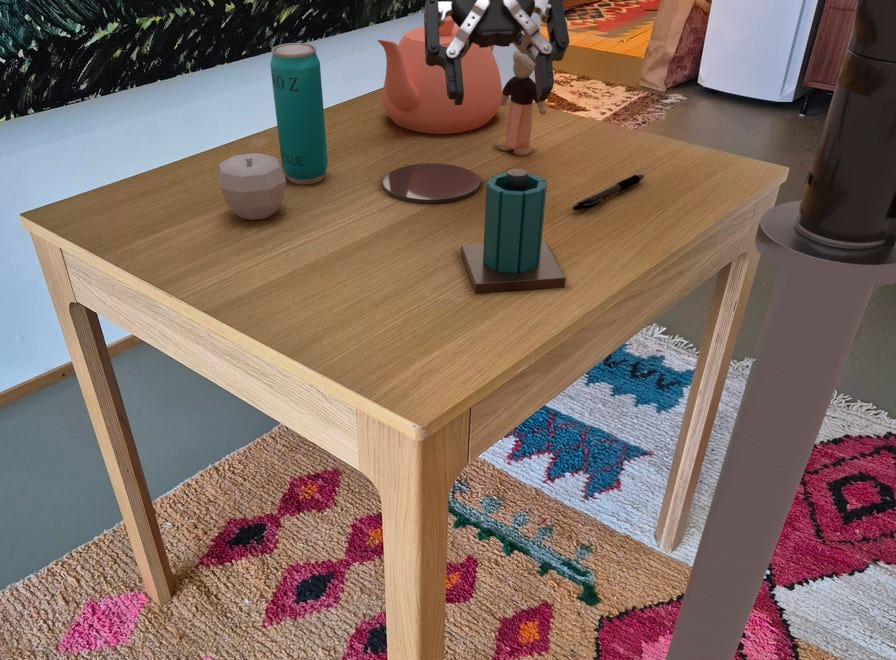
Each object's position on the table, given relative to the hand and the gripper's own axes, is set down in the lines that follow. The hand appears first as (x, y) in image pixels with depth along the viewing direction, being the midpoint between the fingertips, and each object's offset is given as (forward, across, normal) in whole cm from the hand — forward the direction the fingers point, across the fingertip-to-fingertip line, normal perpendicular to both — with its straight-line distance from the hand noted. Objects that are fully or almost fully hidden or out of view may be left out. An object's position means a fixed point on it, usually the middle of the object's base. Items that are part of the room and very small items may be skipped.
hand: (501, 99), depth 83 cm
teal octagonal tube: (+15, 0, +3) cm, 16 cm away
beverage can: (-4, -20, +24) cm, 32 cm away
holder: (+16, 0, +4) cm, 17 cm away
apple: (+4, -26, +17) cm, 31 cm away
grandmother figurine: (-8, +8, +28) cm, 30 cm away
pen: (+4, +16, +16) cm, 22 cm away
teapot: (-18, -1, +39) cm, 43 cm away
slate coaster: (-1, -5, +21) cm, 22 cm away
